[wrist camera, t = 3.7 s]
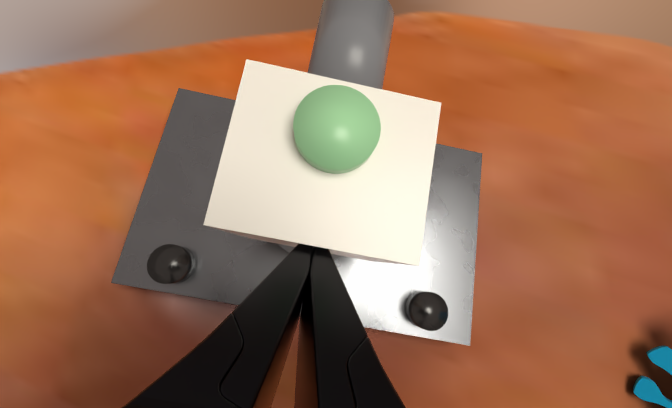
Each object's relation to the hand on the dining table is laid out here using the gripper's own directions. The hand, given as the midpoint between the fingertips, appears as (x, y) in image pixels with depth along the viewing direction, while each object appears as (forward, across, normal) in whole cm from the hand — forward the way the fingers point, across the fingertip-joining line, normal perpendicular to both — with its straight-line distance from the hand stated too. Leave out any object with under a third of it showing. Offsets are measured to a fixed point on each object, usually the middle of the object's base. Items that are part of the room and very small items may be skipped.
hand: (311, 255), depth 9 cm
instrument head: (+8, 0, +1) cm, 8 cm away
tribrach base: (+10, 0, +6) cm, 11 cm away
